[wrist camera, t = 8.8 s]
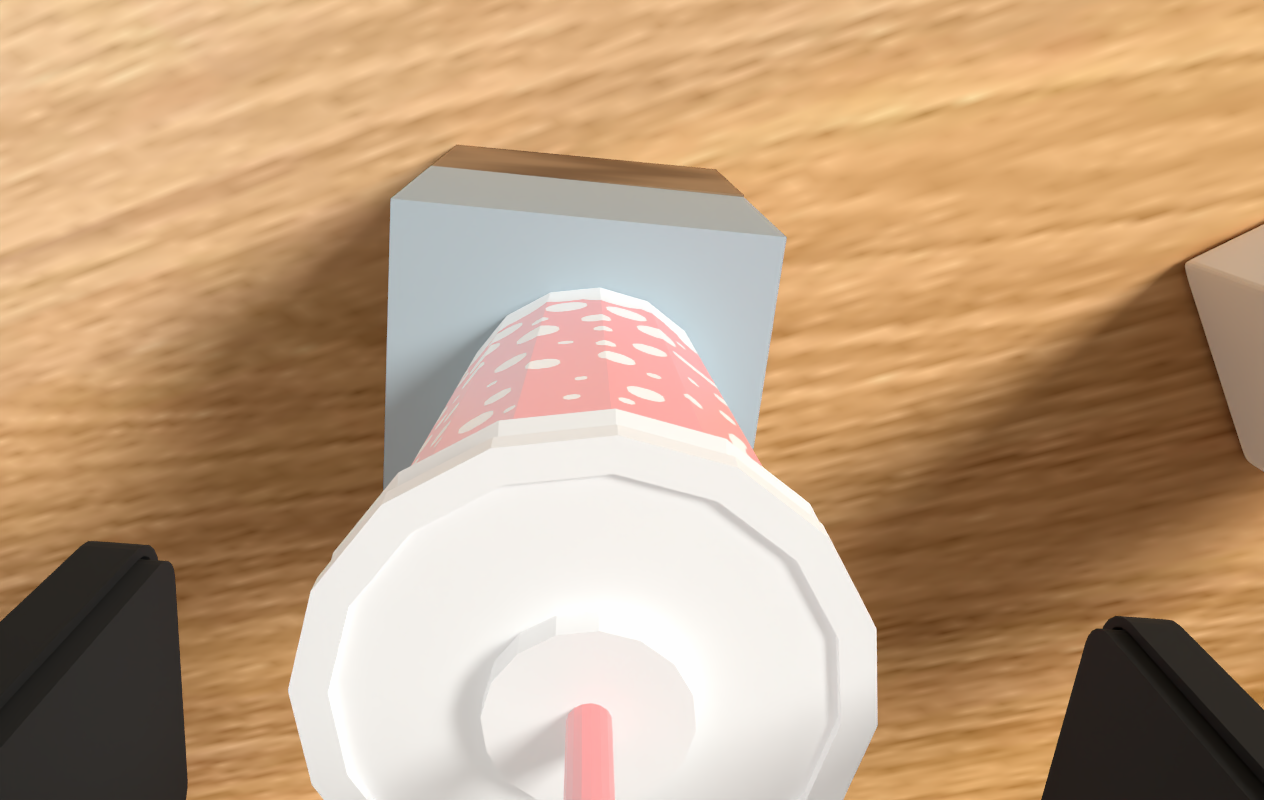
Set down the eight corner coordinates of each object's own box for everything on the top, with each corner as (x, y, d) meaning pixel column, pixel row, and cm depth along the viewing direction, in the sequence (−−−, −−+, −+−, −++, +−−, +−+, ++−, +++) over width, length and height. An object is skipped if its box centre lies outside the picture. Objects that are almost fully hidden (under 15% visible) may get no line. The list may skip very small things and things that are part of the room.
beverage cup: (727, 562, 20) (993, 1565, 7) (418, 540, 20) (74, 1569, 6) (773, 261, 18) (1279, 875, 5) (429, 229, 18) (-45, 811, 4)
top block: (743, 197, 23) (786, 236, 18) (703, 479, 25) (732, 581, 20) (430, 165, 22) (390, 198, 17) (419, 457, 24) (382, 556, 20)
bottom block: (715, 168, 27) (744, 195, 23) (686, 409, 30) (705, 478, 25) (457, 144, 27) (430, 166, 22) (447, 391, 29) (421, 458, 24)
